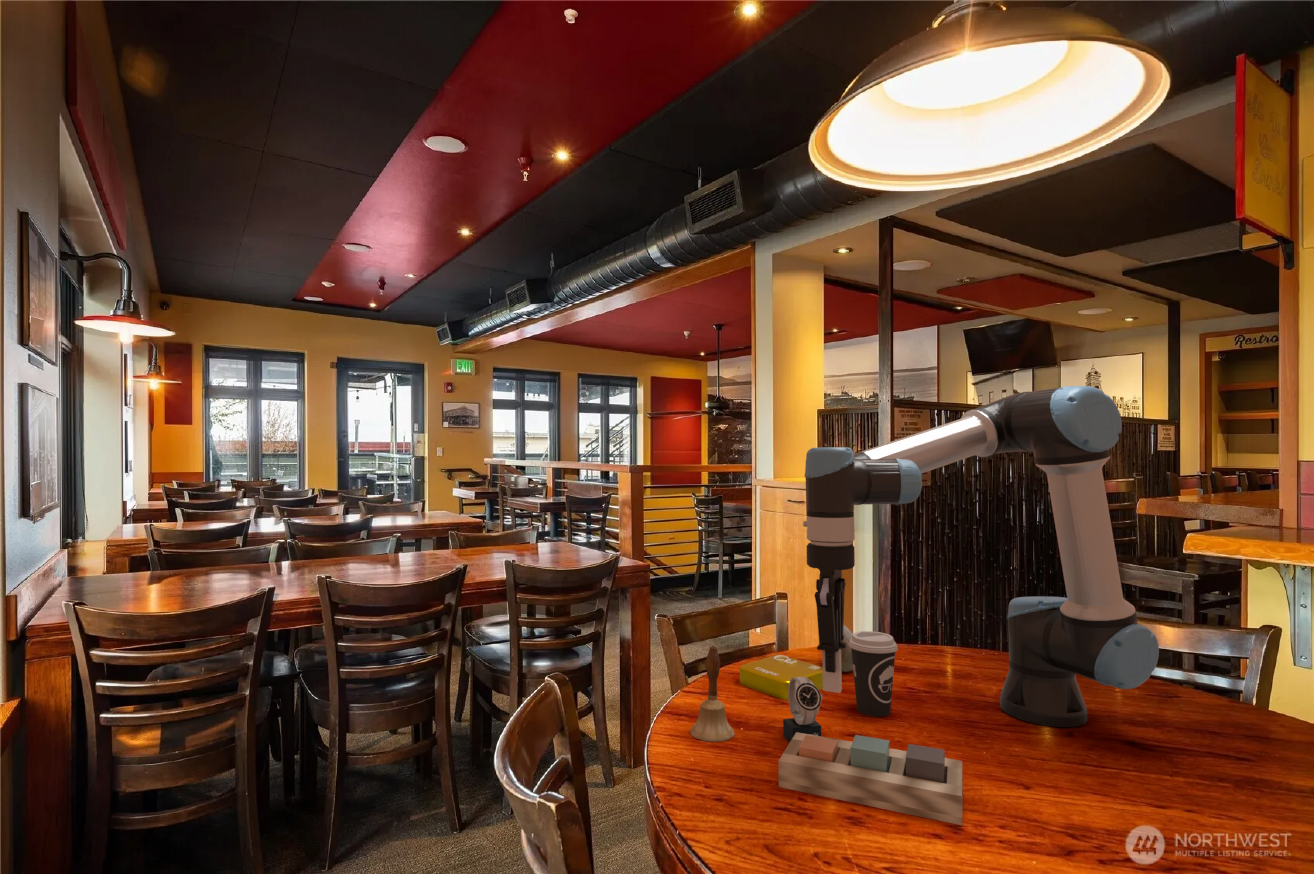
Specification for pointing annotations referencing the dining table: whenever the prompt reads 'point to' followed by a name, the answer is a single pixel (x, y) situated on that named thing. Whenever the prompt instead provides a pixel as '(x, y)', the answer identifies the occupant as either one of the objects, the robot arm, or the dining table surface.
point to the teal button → (870, 753)
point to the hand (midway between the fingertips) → (832, 690)
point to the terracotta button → (819, 748)
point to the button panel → (874, 783)
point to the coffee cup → (873, 671)
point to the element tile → (778, 675)
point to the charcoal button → (925, 763)
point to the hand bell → (712, 707)
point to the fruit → (846, 652)
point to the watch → (802, 708)
